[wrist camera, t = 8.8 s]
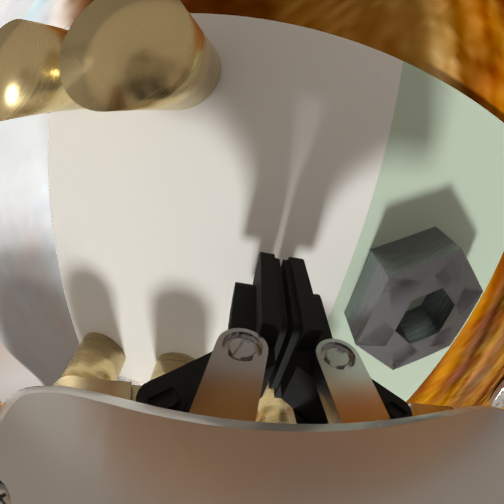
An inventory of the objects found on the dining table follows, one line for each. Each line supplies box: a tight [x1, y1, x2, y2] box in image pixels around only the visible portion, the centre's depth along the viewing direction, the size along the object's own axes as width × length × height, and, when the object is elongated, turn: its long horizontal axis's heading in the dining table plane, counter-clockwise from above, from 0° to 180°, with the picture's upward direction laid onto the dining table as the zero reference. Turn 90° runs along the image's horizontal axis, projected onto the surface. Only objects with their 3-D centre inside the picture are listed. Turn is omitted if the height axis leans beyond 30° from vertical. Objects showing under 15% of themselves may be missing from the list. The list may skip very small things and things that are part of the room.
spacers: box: [0, 0, 290, 424], centre depth 10 cm, size 14×18×5 cm
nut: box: [344, 226, 483, 370], centre depth 11 cm, size 6×7×2 cm
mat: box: [48, 13, 504, 402], centre depth 12 cm, size 24×20×1 cm
